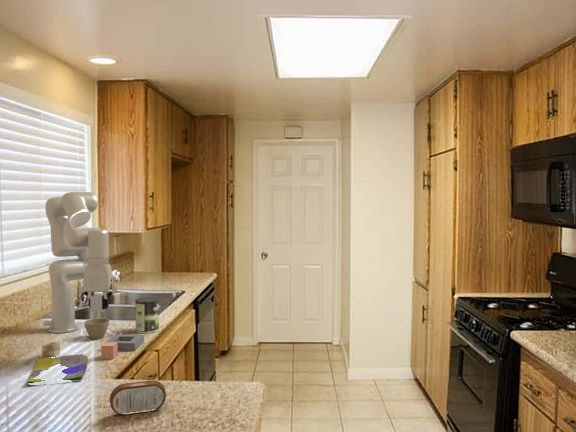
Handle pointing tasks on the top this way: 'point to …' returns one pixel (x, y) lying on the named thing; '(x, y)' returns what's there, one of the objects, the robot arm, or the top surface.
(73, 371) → the dish towel
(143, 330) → the coffee can
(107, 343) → the terracotta block
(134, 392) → the tin
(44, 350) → the birch block
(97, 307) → the steel block
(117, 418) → the top surface
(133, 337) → the bearing plate
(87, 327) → the flower pot
